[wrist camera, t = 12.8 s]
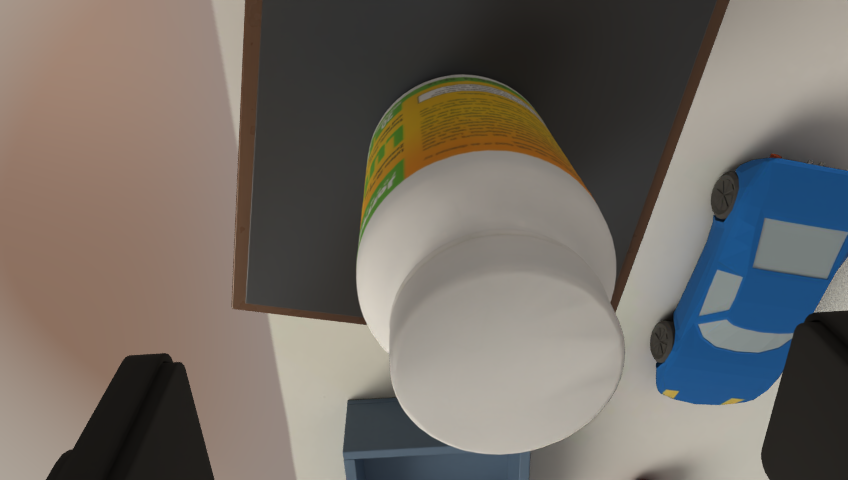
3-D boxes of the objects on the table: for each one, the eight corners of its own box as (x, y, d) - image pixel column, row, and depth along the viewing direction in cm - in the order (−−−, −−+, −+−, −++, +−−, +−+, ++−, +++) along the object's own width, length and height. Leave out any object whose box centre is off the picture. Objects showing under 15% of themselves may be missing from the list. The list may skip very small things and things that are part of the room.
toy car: (628, 378, 52) (650, 423, 48) (731, 134, 43) (770, 162, 38) (739, 392, 53) (769, 438, 49) (862, 158, 44) (914, 187, 40)
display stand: (307, 116, 41) (229, 314, 22) (329, -116, 35) (248, -129, 16) (508, 147, 43) (603, 358, 23) (562, -71, 37) (748, -32, 17)
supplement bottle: (370, 64, 18) (349, 216, 10) (562, 76, 18) (708, 234, 10) (364, 237, 21) (342, 482, 12) (533, 245, 21) (630, 489, 12)
